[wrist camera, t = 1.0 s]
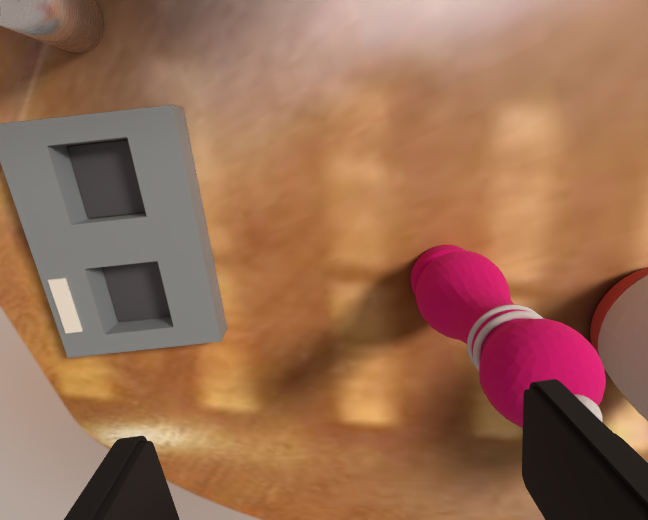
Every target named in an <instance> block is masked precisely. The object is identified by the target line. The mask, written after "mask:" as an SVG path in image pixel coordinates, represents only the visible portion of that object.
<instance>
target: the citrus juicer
mask: <svg viewBox="0 0 648 520" xmlns="http://www.w3.org/2000/svg"><path fill="white" fill-rule="evenodd" d="M590 338H591V343H592V346H593V347H594V349H595V350H596V352H597V353H598V355H599V357H600V359H601V361H602V364H603V366H604V370H605V372H606V374H607V375H608V376H609V377H610V378H611V380H612V381H613V383H614V384H615V386H616V387H617V388H618V389H619V391H620V392H621V393H622V394H623V395H624V396H625V398H626V399H627V400H628V401H629V402H630V403H631V404H632V406H633V407H634V408H635V409H636V410H637V411H638V412H639V413H640V414H641V415H642V416H643V417H644V418H645V419H646V420H647V421H648V268H644V269H642V270H639V271H636V272H634V273H632V274H630V275H629V276H627V277H625V278H623V279H622V280H621V281H619V282H618V283H617V284H616V285H614V286H613V287H612V288H611V289H610V290H609V291H608V292H607V293H606V295H605V296H604V297H603V299H602V300H601V302H600V303H599V304H598V306H597V308H596V311H595V313H594V315H593V318H592V322H591V327H590Z"/></svg>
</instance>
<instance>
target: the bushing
mask: <svg viewBox="0 0 648 520" xmlns="http://www.w3.org/2000/svg"><path fill="white" fill-rule="evenodd" d="M0 26H2V27H5V28H8V29H10V30H13V31H15V32H18V33H21V34H23V35H26V36H29V37H31V38H34V39H36V40H39V41H42V42H44V43H47V44H50V45H52V46H55V47H58V48H60V49H63V50H65V51H68V52H71V53H85V52H88V51H90V50H92V49H93V48H95V47H96V46H97V45H98V43H99V42H100V40H101V38H102V34H103V28H104V23H103V16H102V13H101V10H100V8H99V6H98V4H97V3H96V1H95V0H0Z"/></svg>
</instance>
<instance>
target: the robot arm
mask: <svg viewBox="0 0 648 520" xmlns="http://www.w3.org/2000/svg"><path fill="white" fill-rule="evenodd" d="M522 476H523V480H524V483H525V486H526V488H527V490H528V492H529V493H530V495H531V497H532V498H533V500H534V502H535V503H536V505H537V506H538V508H539V510H540V511H541V513H542V515H543V516H544V518H545V519H546V520H648V463H647V462H646V461H645V460H644V459H643V458H642V457H641V456H640V455H639V454H638V453H637V452H636V451H635V450H634V449H633V448H632V447H630V446H629V445H628V444H627V443H626V442H625V441H624V440H623V439H622V438H621V437H619V436H618V435H617V434H614V433H613V432H612V431H611V430H610V429H609V428H608V427H607V426H606V425H605V424H604V423H603V422H601V421H600V420H599V419H598V418H597V417H596V416H595V415H594V414H593V413H592V412H591V411H590V410H589V409H588V408H587V407H586V406H585V405H584V404H583V403H582V402H581V401H580V400H579V399H578V398H577V397H576V396H575V395H574V394H573V393H572V392H571V391H570V390H569V389H568V388H566V387H565V386H564V385H563V384H562V383H561V382H560V381H559V380H557V379H551V380H544V381H537V382H532V383H531V384H530V386H529V389H526V390H525V391H524V394H523V448H522ZM64 520H179V517H178V514H177V511H176V508H175V505H174V502H173V499H172V496H171V493H170V491H169V488H168V485H167V482H166V479H165V476H164V473H163V470H162V467H161V464H160V462H159V459H158V456H157V453H156V450H155V447H154V445H153V443H152V442H151V441H147V439H146V438H145V437H144V436H136V437H129V438H122V439H119V440H117V441H116V442H115V443H114V445H113V446H112V448H111V449H110V451H109V452H108V454H107V455H106V457H105V458H104V460H103V461H102V463H101V464H100V466H99V467H98V469H97V470H96V472H95V473H94V475H93V476H92V478H91V479H90V481H89V482H88V484H87V486H86V487H85V489H84V490H83V492H82V493H81V495H80V496H79V498H78V499H77V501H76V502H75V504H74V505H73V507H72V508H71V510H70V511H69V513H68V514H67V516H66V517H65V519H64Z"/></svg>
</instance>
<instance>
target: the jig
mask: <svg viewBox="0 0 648 520" xmlns="http://www.w3.org/2000/svg"><path fill="white" fill-rule="evenodd" d="M124 139H128V140H125V141H116V142H107V143H98V144H89V145H79V146H70V147H67V146H69V145H78V144H87V143H96V142H106V141H115V140H124ZM0 163H1V166H2V169H3V172H4V174H5V177H6V180H7V183H8V186H9V189H10V192H11V195H12V198H13V201H14V203H15V206H16V209H17V212H18V215H19V218H20V221H21V224H22V227H23V230H24V232H25V235H26V238H27V241H28V244H29V247H30V250H31V253H32V256H33V259H34V261H35V264H36V267H37V270H38V273H39V276H40V279H41V282H42V285H43V288H44V290H45V293H46V296H47V299H48V302H49V305H50V308H51V311H52V314H53V317H54V319H55V322H56V325H57V328H58V331H59V334H60V337H61V340H62V343H63V346H64V348H65V351H66V354H67V357H68V358H72V357H81V356H90V355H100V354H109V353H118V352H128V351H137V350H147V349H156V348H165V347H175V346H184V345H193V344H203V343H212V342H221V341H222V339H223V337H224V334H225V332H226V330H227V325H226V320H225V315H224V310H223V305H222V300H221V295H220V290H219V285H218V280H217V275H216V270H215V265H214V260H213V255H212V250H211V245H210V240H209V235H208V230H207V225H206V220H205V215H204V210H203V205H202V200H201V195H200V190H199V185H198V179H197V174H196V169H195V164H194V159H193V154H192V149H191V144H190V139H189V134H188V129H187V124H186V119H185V114H184V109H183V108H182V107H178V106H175V105H167V106H157V107H148V108H139V109H130V110H121V111H112V112H103V113H94V114H85V115H75V116H66V117H57V118H48V119H39V120H30V121H21V122H12V123H3V124H0ZM142 212H146V213H142ZM132 213H141V214H132ZM123 214H131V215H123ZM114 215H122V216H114ZM105 216H113V217H105ZM96 217H104V218H96ZM88 218H94V219H88ZM169 316H170V317H169ZM160 317H161V318H160ZM150 318H152V319H150ZM141 319H142V320H141ZM132 320H133V321H132ZM122 321H124V322H122Z"/></svg>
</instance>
